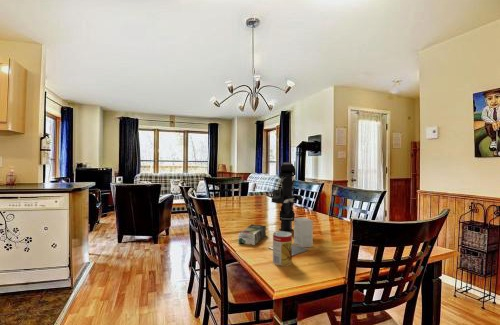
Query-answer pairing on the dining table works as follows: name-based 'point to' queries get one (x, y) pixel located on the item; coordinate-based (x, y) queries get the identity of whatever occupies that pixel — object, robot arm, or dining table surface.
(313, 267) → the dining table surface
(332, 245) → the dining table surface
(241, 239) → the juice carton
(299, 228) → the small box
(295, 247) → the mat
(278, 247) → the canned food
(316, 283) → the dining table surface
